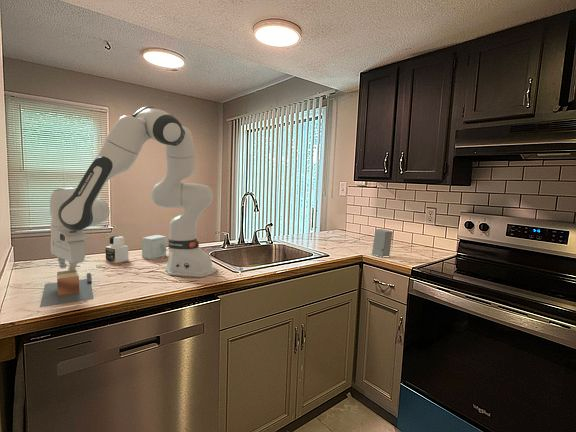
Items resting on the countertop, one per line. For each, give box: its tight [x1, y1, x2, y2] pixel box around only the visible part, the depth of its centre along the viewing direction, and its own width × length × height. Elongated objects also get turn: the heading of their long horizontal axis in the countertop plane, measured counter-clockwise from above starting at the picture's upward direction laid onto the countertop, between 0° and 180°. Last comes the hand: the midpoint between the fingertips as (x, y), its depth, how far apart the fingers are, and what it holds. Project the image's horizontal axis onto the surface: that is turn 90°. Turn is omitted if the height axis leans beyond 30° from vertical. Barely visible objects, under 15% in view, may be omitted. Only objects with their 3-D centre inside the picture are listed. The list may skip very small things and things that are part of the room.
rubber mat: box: [39, 278, 95, 308], centre depth 109 cm, size 24×14×1 cm, turn 35°
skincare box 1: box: [141, 234, 167, 260], centre depth 161 cm, size 10×6×10 cm, turn 156°
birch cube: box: [56, 269, 80, 295], centre depth 108 cm, size 6×6×6 cm
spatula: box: [79, 262, 97, 283], centre depth 129 cm, size 6×29×2 cm, turn 33°
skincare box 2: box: [371, 228, 394, 257], centre depth 184 cm, size 8×7×16 cm
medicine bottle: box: [105, 235, 129, 264], centre depth 150 cm, size 7×7×12 cm
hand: (67, 270), depth 113 cm, fingers open, 6 cm apart
